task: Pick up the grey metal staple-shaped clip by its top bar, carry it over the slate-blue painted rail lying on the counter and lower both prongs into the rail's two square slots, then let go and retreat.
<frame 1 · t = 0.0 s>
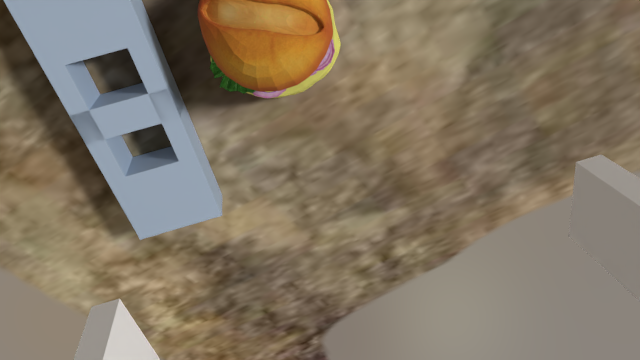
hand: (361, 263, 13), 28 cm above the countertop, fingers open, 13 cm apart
rail: (134, 101, 37), on the countertop
cheeseburger: (265, 24, 36), on the countertop
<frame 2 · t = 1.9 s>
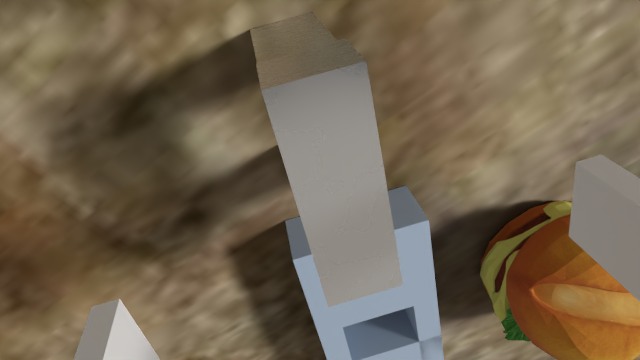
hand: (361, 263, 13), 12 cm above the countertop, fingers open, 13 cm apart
rail: (373, 322, 32), on the countertop
clip: (301, 100, 23), on the countertop
cheeseburger: (531, 242, 32), on the countertop
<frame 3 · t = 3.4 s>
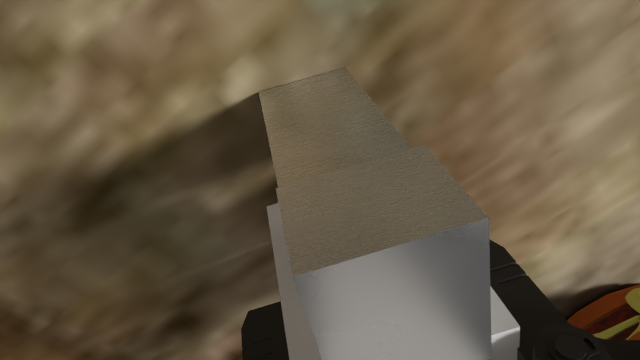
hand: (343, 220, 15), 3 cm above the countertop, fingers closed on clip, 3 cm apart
clip: (327, 178, 17), on the countertop, touching gripper
cheeseburger: (601, 328, 26), on the countertop
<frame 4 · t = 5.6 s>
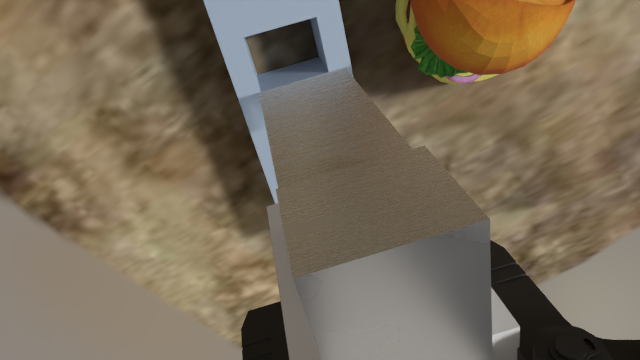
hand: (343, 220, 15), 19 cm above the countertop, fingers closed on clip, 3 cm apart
rail: (292, 82, 32), on the countertop
clip: (327, 179, 17), point 17 cm above the countertop, touching gripper
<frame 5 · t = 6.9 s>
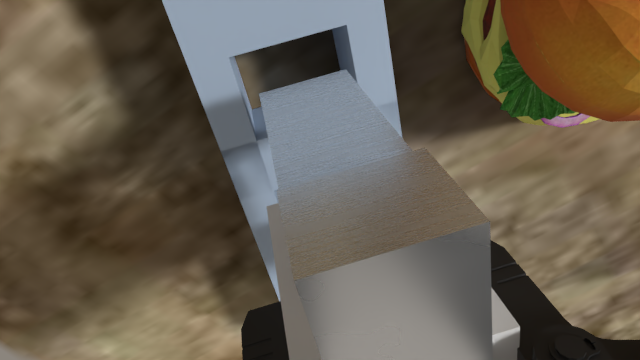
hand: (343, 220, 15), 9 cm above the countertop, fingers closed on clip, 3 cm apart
rail: (303, 120, 22), on the countertop
clip: (327, 180, 17), point 6 cm above the countertop, touching gripper
when the fingers open (5 cm above the countertop, at t = 7.8 s): clip drops 2 cm, resting in rail.
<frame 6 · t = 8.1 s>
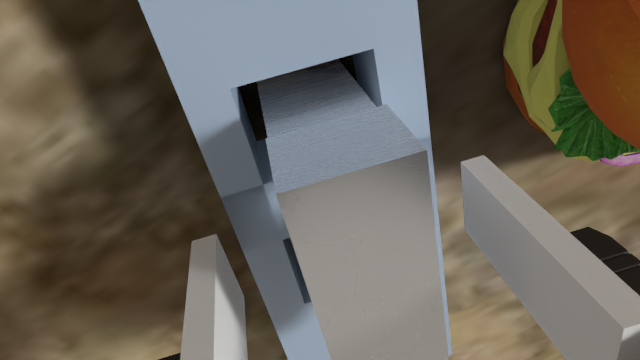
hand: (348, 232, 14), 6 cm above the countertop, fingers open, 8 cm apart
rail: (316, 152, 19), on the countertop
clip: (316, 152, 19), resting in rail
cheeseburger: (589, 15, 18), on the countertop
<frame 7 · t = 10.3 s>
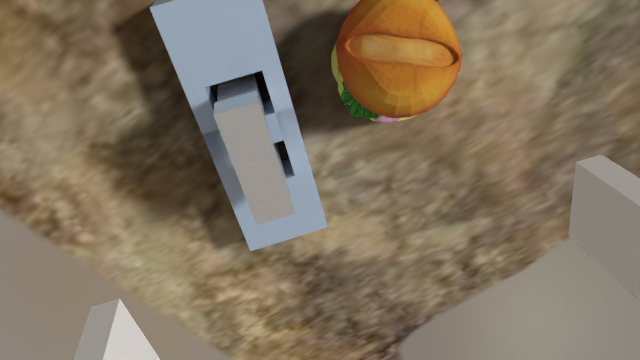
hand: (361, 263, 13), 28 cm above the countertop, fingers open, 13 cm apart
rail: (250, 119, 39), on the countertop
clip: (250, 119, 39), resting in rail
cheeseburger: (380, 53, 39), on the countertop
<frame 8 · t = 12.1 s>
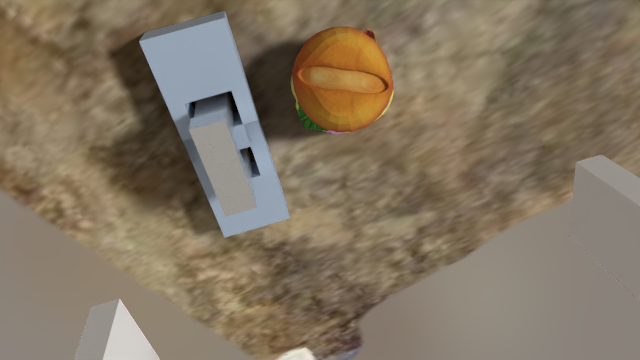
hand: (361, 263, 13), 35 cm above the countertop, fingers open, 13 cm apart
rail: (224, 127, 47), on the countertop
clip: (224, 127, 47), resting in rail
cheeseburger: (333, 75, 46), on the countertop
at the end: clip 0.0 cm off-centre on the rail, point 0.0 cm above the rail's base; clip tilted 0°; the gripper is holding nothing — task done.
